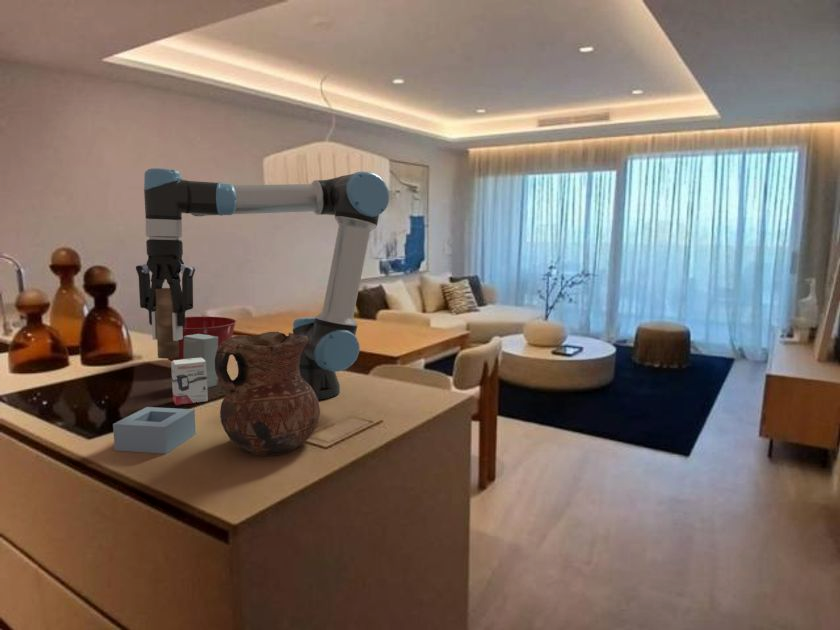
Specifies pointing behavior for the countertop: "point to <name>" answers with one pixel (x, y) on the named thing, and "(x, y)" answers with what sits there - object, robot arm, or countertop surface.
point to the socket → (154, 430)
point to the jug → (266, 393)
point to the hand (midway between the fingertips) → (167, 338)
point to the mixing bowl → (206, 329)
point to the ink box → (189, 381)
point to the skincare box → (203, 353)
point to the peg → (165, 324)
